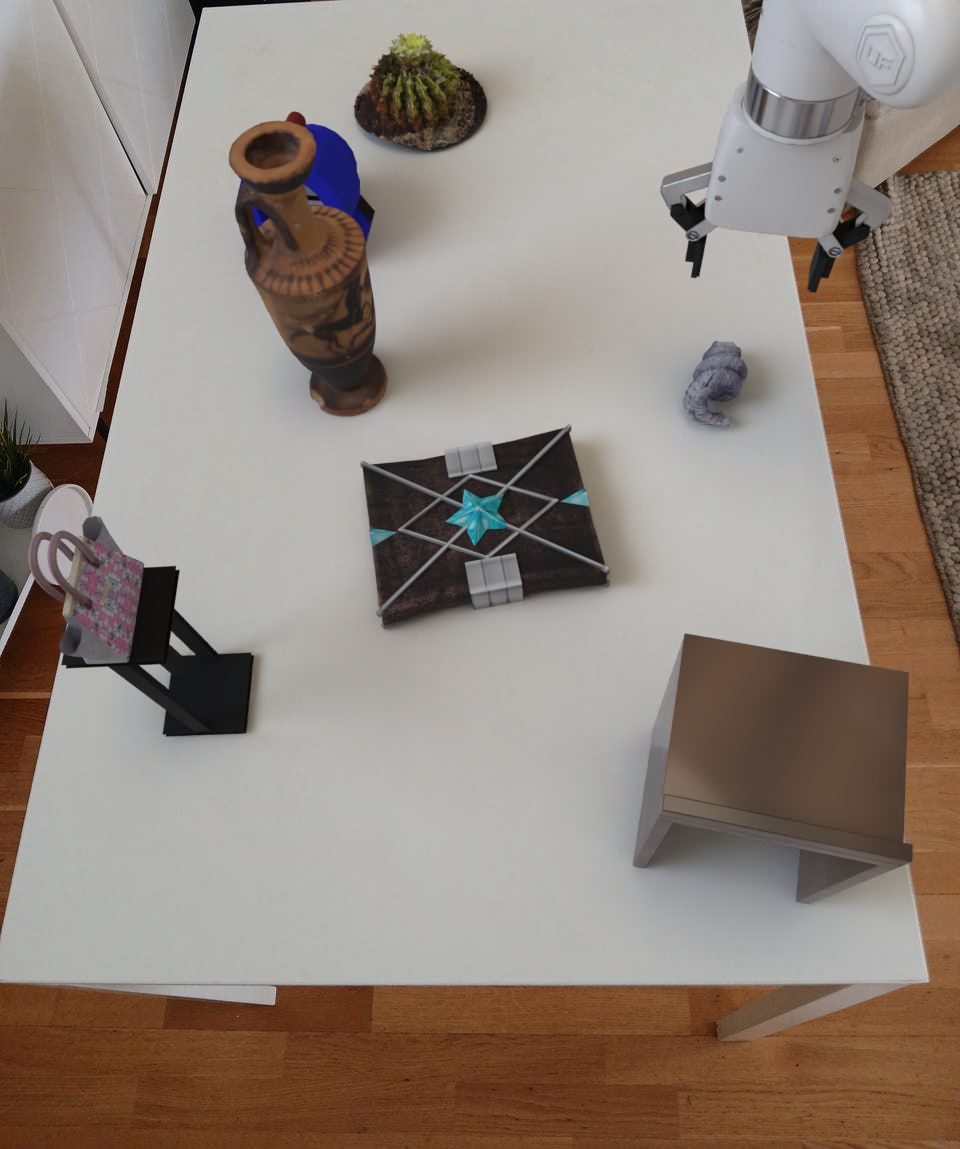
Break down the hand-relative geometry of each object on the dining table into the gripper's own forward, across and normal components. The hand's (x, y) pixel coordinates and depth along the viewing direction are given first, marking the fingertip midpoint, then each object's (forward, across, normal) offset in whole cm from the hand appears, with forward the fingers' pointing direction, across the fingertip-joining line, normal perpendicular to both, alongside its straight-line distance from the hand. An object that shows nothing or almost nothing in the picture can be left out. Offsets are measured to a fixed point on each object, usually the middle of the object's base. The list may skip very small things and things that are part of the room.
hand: (754, 272), depth 77 cm
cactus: (+18, +42, -38) cm, 60 cm away
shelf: (+18, -6, +41) cm, 45 cm away
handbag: (+18, +41, +41) cm, 61 cm away
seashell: (+18, +1, -1) cm, 18 cm away
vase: (+18, +39, +5) cm, 43 cm away
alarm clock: (+18, +49, -16) cm, 55 cm away
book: (+18, +20, +20) cm, 34 cm away
